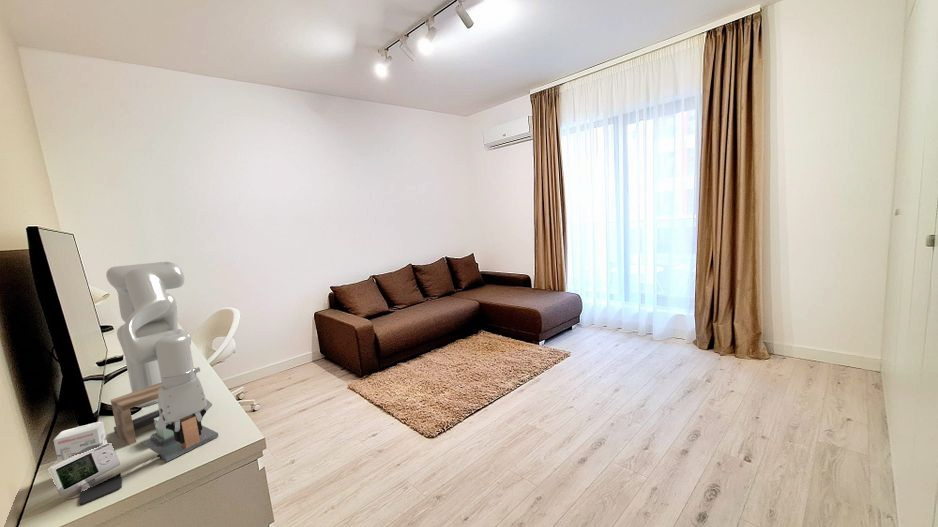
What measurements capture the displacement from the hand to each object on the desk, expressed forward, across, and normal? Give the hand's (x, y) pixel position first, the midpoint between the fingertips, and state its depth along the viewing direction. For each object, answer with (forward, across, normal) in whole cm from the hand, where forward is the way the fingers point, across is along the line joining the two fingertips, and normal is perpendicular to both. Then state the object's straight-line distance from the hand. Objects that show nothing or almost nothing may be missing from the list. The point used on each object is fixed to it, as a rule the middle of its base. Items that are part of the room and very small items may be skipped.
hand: (189, 437), depth 105 cm
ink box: (+4, +18, -17) cm, 25 cm away
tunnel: (+3, 0, -23) cm, 23 cm away
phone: (+4, +18, -5) cm, 19 cm away
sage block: (+2, 0, -12) cm, 12 cm away
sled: (+3, 0, -7) cm, 8 cm away
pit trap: (+3, 0, -30) cm, 31 cm away
